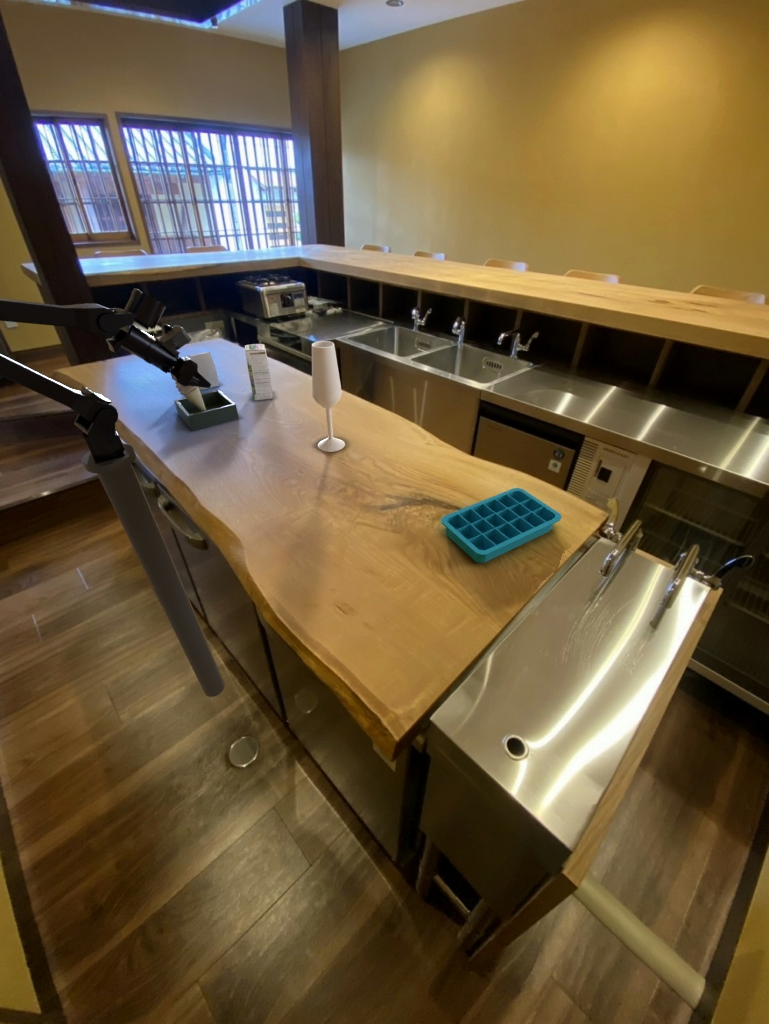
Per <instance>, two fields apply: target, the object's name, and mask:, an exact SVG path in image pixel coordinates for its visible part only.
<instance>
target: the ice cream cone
mask: <svg viewBox="0 0 769 1024" xmlns="http://www.w3.org/2000/svg"><path fill="white" fill-rule="evenodd" d="M173 368H174V367H173ZM175 388H176V389H177V391H178V392H179V394H180V395H181V396H183V398H187V399H188V400H189V401H190V402H191V403H193V404H194V405H195V406H196V407H197V408H199V409H200V410H201V411H202V412H203V411H206V408H205V405H204V402H203V399H202V396H201V394H202V393H201V390H199V388H198V387H196V386H183V385H181V384H179V383H177V382H176V381H175Z"/></svg>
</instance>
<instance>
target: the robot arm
mask: <svg viewBox="0 0 769 1024" xmlns="http://www.w3.org/2000/svg"><path fill="white" fill-rule="evenodd" d="M166 308H167V307H166V306H165V304H163V303H162V302H161V301H160V300H158V299H156V298H153V297H152V296H150V295H148V294H146V293H145V292H143V291H141V289H138V288H133V289H132V291H131V294H130V297H129V300H128V301H127V303H126V306H125V307H124V309H122V308H120V307H106V306H104V305H101V304H98V303H75V304H65V305H59V304H50V303H43V302H34V301H26V300H18V299H11V298H1V297H0V322H10V323H19V324H20V323H21V324H22V323H23V324H32V325H42V326H43V325H44V326H54V327H63V328H64V327H65V328H71V329H76V330H79V331H82V332H85V333H89V334H94V335H98V336H102V337H107V338H106V339H105V341H106V343H107V344H108V349H109V350H110V351H111V352H112V353H114V354H118V353H119V351H120V349H121V348H122V349H123V350H126V351H128V352H129V353H131V354H133V355H135V356H136V357H138V358H139V359H141V360H143V361H144V362H146V363H147V364H149V365H152V366H154V367H155V368H156V369H159V370H160V371H161V372H163V373H165V374H168V373H169V374H170V376H171V379H172V380H173V381H174V382H175V383H176V382H177V383H179V384H181V385H183V386H196V387H205V388H207V389H211V388H210V386H211V384H210V383H209V382H208V381H207V380H206V379H205V378H204V377H203V376H202V375H201V374H200V373H199V372H198V364H197V363H195V362H194V361H192V360H190V359H189V358H188V357H187V355H186V356H179V355H180V353H181V352H179V350H180V349H182V348H183V347H184V346H185V345H186V344H189V343H190V342H192V338H191V337H190V335H189V334H188V333H187V331H186V330H185V329H184V327H183V326H180V325H178V324H173V325H172V326H171V325H169V324H167V323H164V324H163V325H162V326H161V327H160V329H161V336H160V337H159V338H157V337H156V336H154V335H153V336H152V335H150V334H149V333H147V332H145V331H144V330H146V331H149V329H151V330H155V329H156V327H157V325H158V323H159V321H160V319H161V317H162V316H163V314H164V311H165V310H166ZM134 324H136V325H137V326H136V325H134ZM138 326H139V327H140V328H139V327H138ZM141 328H142V329H144V330H142V329H141ZM110 337H111V338H110ZM173 367H174V368H173ZM0 377H2V378H4V379H7V380H9V381H11V382H13V383H15V384H18V385H19V386H22V387H24V388H26V389H29V390H30V391H32V392H34V393H37V394H39V395H41V396H43V397H46V398H48V399H50V400H52V401H55V402H56V403H59V404H61V405H64V406H65V407H68V408H69V409H71V410H72V411H74V412H75V413H76V414H77V416H76V418H75V420H74V422H73V423H74V425H75V426H76V427H77V428H78V429H79V430H81V431H82V432H81V435H82V439H83V440H84V442H85V444H86V447H87V449H88V451H90V452H91V455H92V458H93V460H94V462H95V464H97V463H101V462H105V461H108V460H112V459H116V458H119V457H123V456H125V454H124V452H123V451H124V450H125V449H124V446H123V444H122V443H123V442H122V439H121V437H120V435H119V432H118V431H116V423H117V422H118V419H119V412H118V409H117V408H116V407H115V406H114V405H112V401H111V400H110V399H108V398H107V397H105V396H104V395H102V394H101V393H96V392H93V391H92V390H91V389H89V388H88V387H86V386H84V385H82V387H81V390H78V389H73V388H70V387H69V386H66V385H64V384H63V383H60V382H59V381H56V380H54V379H52V378H50V377H48V376H46V375H44V374H42V373H40V372H38V371H35V370H34V369H32V368H30V367H28V366H26V365H24V364H23V363H20V362H18V361H15V360H14V359H11V358H10V357H7V356H5V355H3V354H2V353H0Z"/></svg>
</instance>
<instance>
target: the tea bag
mask: <svg viewBox="0 0 769 1024" xmlns="http://www.w3.org/2000/svg"><path fill="white" fill-rule="evenodd" d="M186 357H187V358H189V359H190V360H192V361H194V362H195V363H197V364H198V372H199V373H200V374H201V375H202V376H203V377H204V378H205V379H206V380H207V381H208V382H209V383H210V384H211V386H210V388H209V389H211V388H216V387H219V386H221V384H220V381H219V376H218V372H217V368H216V365H215V362H214V359H213V357H212V354H211V351H205V352H200V353H195V354H191V355H186ZM198 388H199V390H200V391H202V390H206V389H208V388H205V387H198Z"/></svg>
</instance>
